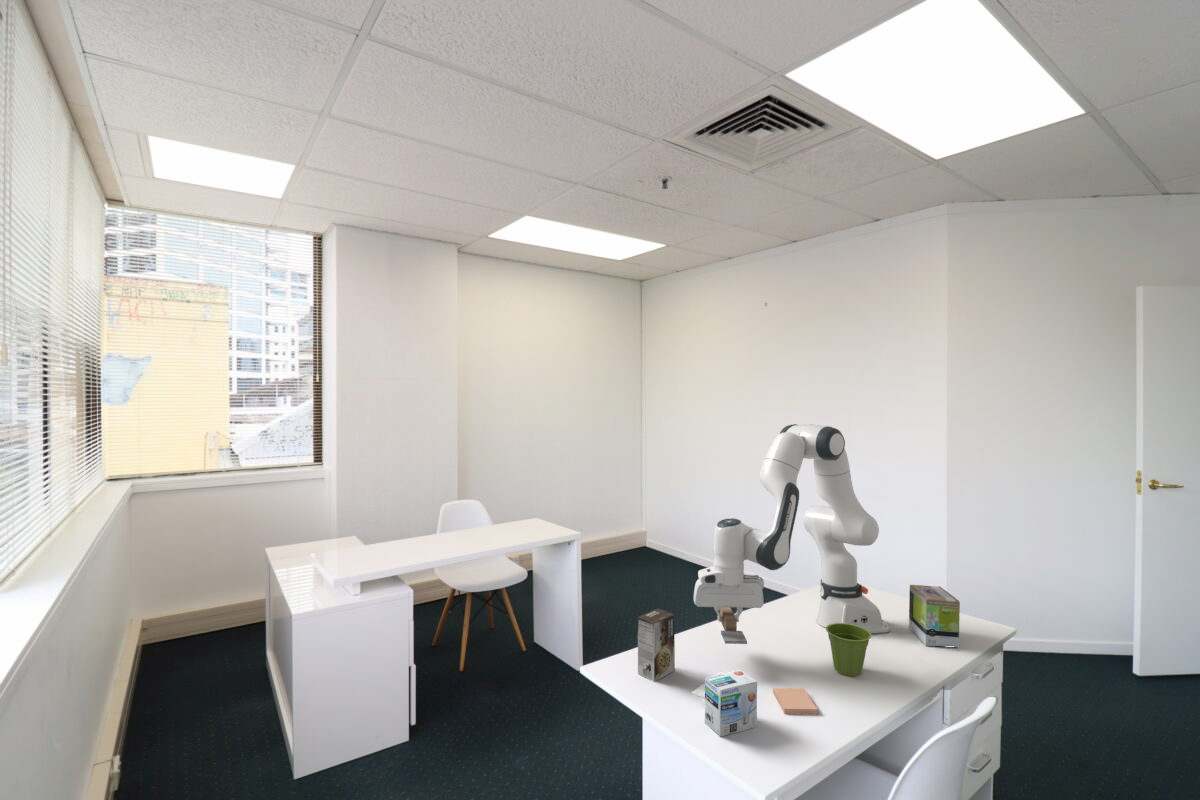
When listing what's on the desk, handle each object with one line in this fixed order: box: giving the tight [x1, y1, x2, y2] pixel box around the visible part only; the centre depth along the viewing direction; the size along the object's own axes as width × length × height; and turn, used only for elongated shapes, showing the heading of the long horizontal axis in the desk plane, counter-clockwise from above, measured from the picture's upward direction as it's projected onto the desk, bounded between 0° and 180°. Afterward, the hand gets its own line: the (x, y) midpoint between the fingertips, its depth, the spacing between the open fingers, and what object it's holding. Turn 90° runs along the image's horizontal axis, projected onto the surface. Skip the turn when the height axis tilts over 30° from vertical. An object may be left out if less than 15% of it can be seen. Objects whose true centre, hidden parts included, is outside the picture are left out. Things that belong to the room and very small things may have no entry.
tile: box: [772, 687, 818, 715], centre depth 147 cm, size 8×2×10 cm
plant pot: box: [825, 623, 873, 677], centre depth 164 cm, size 12×12×11 cm
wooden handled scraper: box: [719, 607, 748, 645], centre depth 169 cm, size 17×6×4 cm, turn 178°
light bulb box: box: [704, 669, 758, 737], centre depth 137 cm, size 11×7×11 cm, turn 114°
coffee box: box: [637, 608, 676, 682], centre depth 162 cm, size 9×6×16 cm
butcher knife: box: [690, 671, 725, 700], centre depth 155 cm, size 5×15×1 cm, turn 139°
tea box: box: [908, 584, 961, 648], centre depth 186 cm, size 15×10×15 cm
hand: (728, 621), depth 173 cm, fingers closed on wooden handled scraper, 3 cm apart
